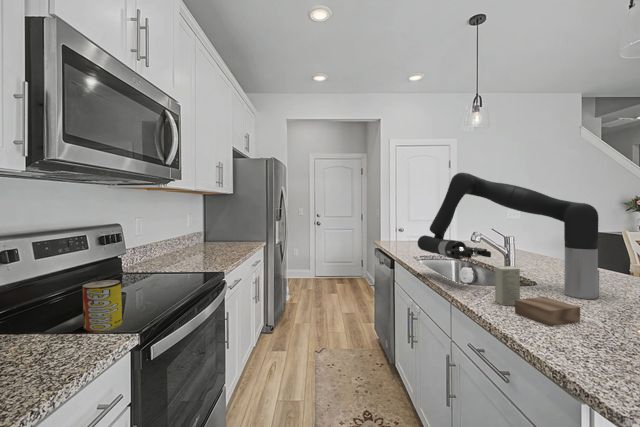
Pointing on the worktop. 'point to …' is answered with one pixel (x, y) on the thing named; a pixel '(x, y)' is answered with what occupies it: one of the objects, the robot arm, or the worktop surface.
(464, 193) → the robot arm
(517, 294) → the skincare box
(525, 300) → the walnut block
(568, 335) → the worktop surface
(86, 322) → the beverage can
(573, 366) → the worktop surface
